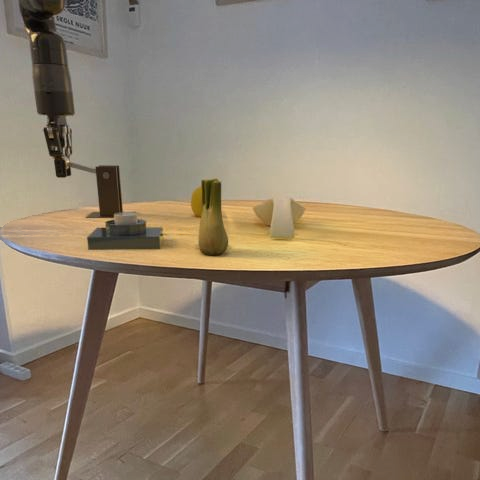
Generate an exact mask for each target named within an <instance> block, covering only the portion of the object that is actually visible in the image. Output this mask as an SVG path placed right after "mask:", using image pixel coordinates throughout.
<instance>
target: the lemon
mask: <svg viewBox="0 0 480 480" xmlns="http://www.w3.org/2000/svg"><path fill="white" fill-rule="evenodd" d="M190 207H191V208H190V209H191V210H192V213H193V215H195V216H196V217H198V218H201V213H202V185H201V184H200V186H198V187H197V188H195V189H194V190H193V191H192V194H191V198H190Z"/></svg>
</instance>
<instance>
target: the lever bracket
mask: <svg viewBox="0 0 480 480" xmlns="http://www.w3.org/2000/svg"><path fill="white" fill-rule="evenodd" d="M94 168H95V169H96V174H95V177H96V178H95V179H96V187H97V188H96V189H97V197H98V199H97V200H98V207H99V209H98V210H99V211H92V212H91V213H90V214H88V215H87V216H86V217H85V219H114V214H115V213H121V212H124V209H123V196H122V183H121V171H120V169H121V167H120V165H116V164H115V165H111V164H110V165H109V164H108V165H105V164H104V165H101V164H100V165H97V166H94ZM132 212H133V213H137V212H136V211H132Z"/></svg>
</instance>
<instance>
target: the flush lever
mask: <svg viewBox="0 0 480 480" xmlns="http://www.w3.org/2000/svg"><path fill="white" fill-rule="evenodd" d="M69 159H70V158H69ZM69 159H68V157H66V156H65V159H63V160H65V161H66V169H68V168H69V167H71V169H76V170H80V171H83V172H87V173H90V174H94V175H96V168H95V167H91V166H88V165H83V164H79V163H76V162H72V161H71V159H70V160H69Z"/></svg>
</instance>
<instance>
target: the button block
mask: <svg viewBox="0 0 480 480" xmlns="http://www.w3.org/2000/svg"><path fill="white" fill-rule="evenodd" d="M104 224H105V227H96V228H95V229H94V230H93V231H92V232H91V233H90V234H88V236H86V241H87V248H88V251H95V250H96V251H100V250H101V251H103V250H105V251H106V250H107V251H108V250H112V251H113V250H117V251H118V250H160V249H161V248H162V245H163V242H164V230H163V229H164V228H163V226H157V227H156V226H153V227H152V226H151V227H150V226H148V222H147V220H145V219H142V218H138V223H133V224H116V223H115V222H114V219H109V220H106V221H105V223H104Z"/></svg>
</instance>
